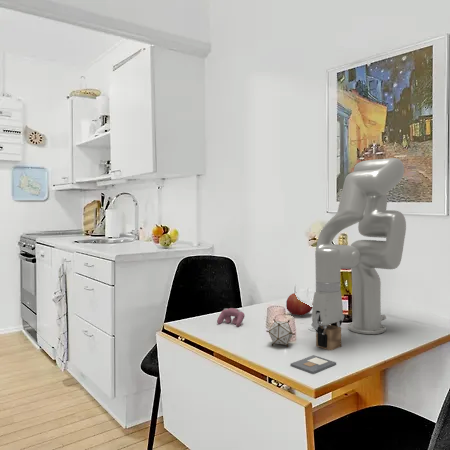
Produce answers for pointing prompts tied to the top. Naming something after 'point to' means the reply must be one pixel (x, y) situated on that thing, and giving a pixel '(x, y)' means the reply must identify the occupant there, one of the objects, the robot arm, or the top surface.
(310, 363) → the card
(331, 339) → the walnut block
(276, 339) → the game die
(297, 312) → the fruit
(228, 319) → the video game controller
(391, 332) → the top surface
